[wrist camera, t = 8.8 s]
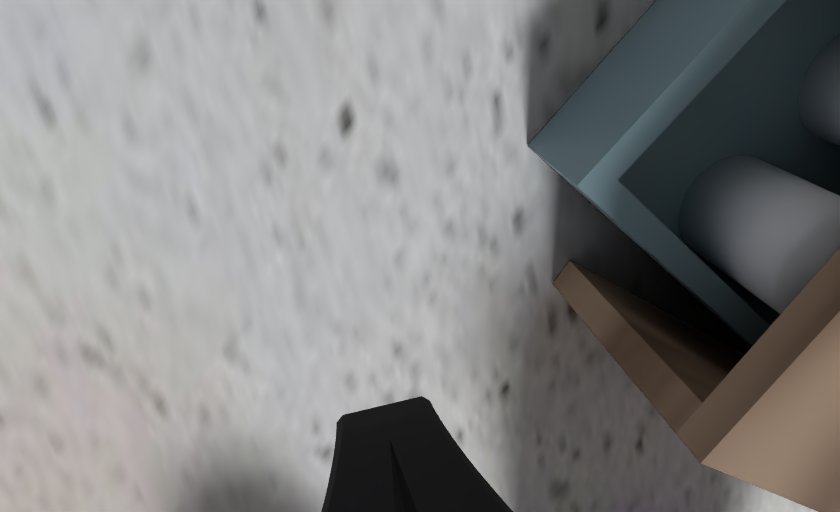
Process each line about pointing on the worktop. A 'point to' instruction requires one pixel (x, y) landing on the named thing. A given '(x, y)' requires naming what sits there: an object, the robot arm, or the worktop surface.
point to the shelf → (735, 383)
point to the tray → (716, 148)
